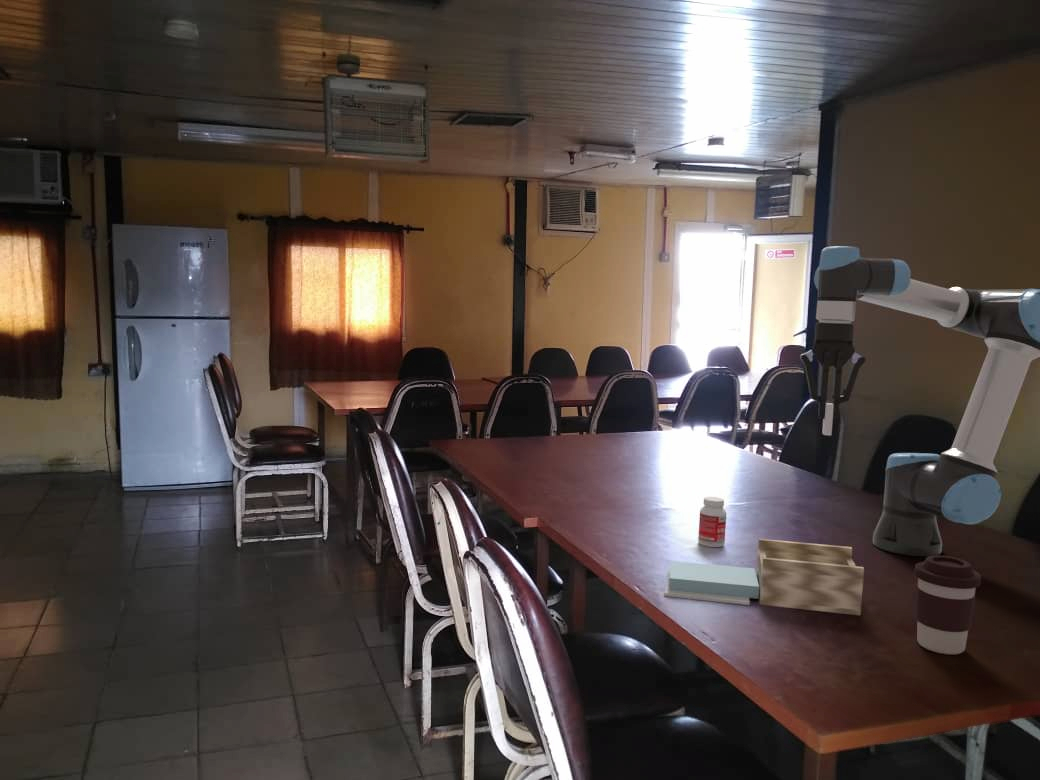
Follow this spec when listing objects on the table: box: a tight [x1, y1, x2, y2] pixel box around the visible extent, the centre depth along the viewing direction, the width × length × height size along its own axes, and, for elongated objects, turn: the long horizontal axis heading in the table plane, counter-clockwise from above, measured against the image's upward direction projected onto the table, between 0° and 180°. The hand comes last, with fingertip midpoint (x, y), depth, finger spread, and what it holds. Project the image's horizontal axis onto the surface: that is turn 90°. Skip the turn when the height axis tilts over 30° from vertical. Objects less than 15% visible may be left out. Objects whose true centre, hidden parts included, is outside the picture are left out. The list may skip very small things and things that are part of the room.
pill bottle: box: [697, 496, 727, 548], centre depth 195 cm, size 6×6×11 cm
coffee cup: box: [914, 554, 982, 655], centre depth 139 cm, size 10×10×15 cm
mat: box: [663, 567, 751, 606], centre depth 166 cm, size 16×16×1 cm
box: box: [755, 538, 865, 616], centre depth 161 cm, size 18×14×9 cm
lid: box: [669, 560, 759, 600], centre depth 165 cm, size 17×11×2 cm, turn 79°
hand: (826, 434), depth 173 cm, fingers closed
